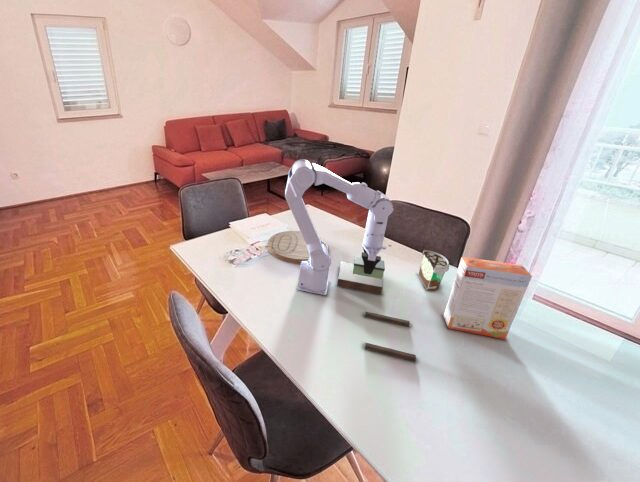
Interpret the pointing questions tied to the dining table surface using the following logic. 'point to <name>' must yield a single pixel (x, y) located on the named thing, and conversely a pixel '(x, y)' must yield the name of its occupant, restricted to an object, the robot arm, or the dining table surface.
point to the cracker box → (486, 296)
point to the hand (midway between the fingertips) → (367, 268)
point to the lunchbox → (359, 268)
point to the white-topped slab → (357, 280)
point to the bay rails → (384, 349)
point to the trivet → (290, 246)
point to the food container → (432, 269)
